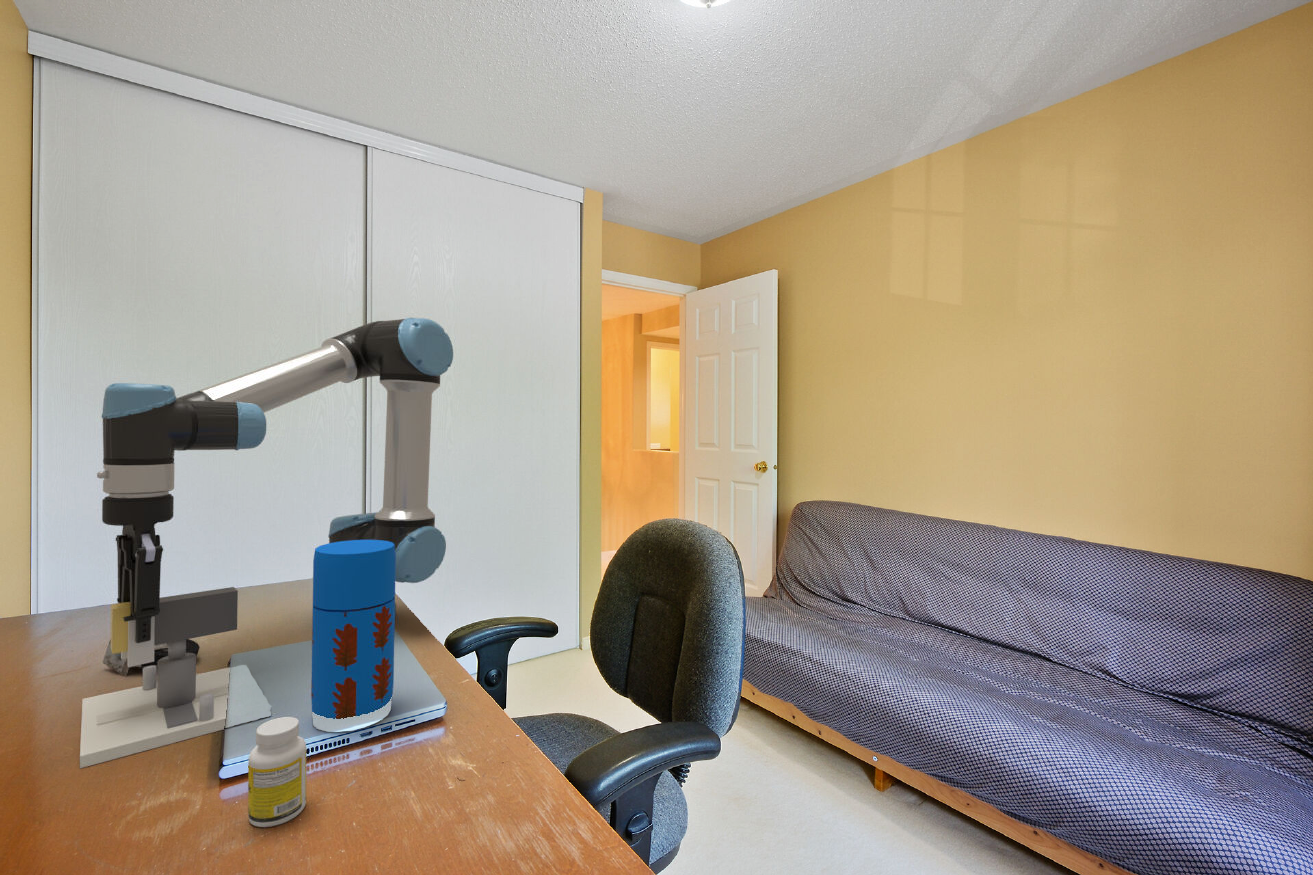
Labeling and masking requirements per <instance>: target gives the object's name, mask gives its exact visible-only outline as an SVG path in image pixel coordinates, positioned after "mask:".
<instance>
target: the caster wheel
mask: <svg viewBox="0 0 1313 875" xmlns="http://www.w3.org/2000/svg"><path fill="white" fill-rule="evenodd" d="M106 647H107V649H106V650H105V654H104V656H103V659H102V664H104V665H105V666H107V667H108V668H110V669H111V670H113V671H115V672H116V673H118V674H119V675H121V676H122V677H127V675H128V672H129V670H130V667H128V666H127V662H128V658H127V659H123V660H122V659H121V652H120V653H115V654H112V651H111V637H110V639H109V642H108V645H107V646H106ZM200 648H201V647H200V645H199V643H198V642H196V641H195V640H192V639H186V653H194V654H196V659H197V657H198V656H199V652H200ZM166 656H168V643H165V644H160V645H154V662H150V663H145V664H141V665H137V666H136V667H138V668H144V667H147V666H152V665H155V666H157V662H158V660H160V659H161V658H164V657H166ZM156 670H157V667H156Z"/></svg>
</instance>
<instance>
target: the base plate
mask: <svg viewBox="0 0 1313 875" xmlns="http://www.w3.org/2000/svg"><path fill="white" fill-rule="evenodd" d="M156 667H157V669H156ZM229 673H230V667H224V668H220V669H216V670H211V671H207V672H202V673H197V658H196V654H194V653H186V655H185V656H183V657H180V658H173V659H171V658H168V656H166V657H164V658H161V659H160V660H158V662H157V666H155V665H152V666H147V667H142V685H141V686H137V687H131V688H127V689H123V690H122V689H121V690H118V691H113V692H108V693H104V694H99V695H94V696H90V697H85V698H82V706H81V724H80V725H81V726H80V746H79V748H80V751H79V769H83V768H86V767H90V766H95V765H98V764H102V763H105V762H109V761H113V760H117V759H120V758H124V757H127V756H130V755H134V754H138V753H142V752H145V751H149V750H152V749H156V748H160V747H163V746H168V745H171V744H175V743H178V742H182V741H186V740H190V739H193V738H197V737H200V736H205V735H208V734H211V733H215V732H218V731H222V730H225V729H224V726H225V719H226V710H227V698H228V686H229V685H228V684H229Z"/></svg>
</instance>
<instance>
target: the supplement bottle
mask: <svg viewBox="0 0 1313 875" xmlns="http://www.w3.org/2000/svg"><path fill="white" fill-rule="evenodd" d="M255 731H256V732H255V743H256V746H254V748H253V749H252V750H251V751H250V753H249V755H248V765H247V767H248V770H247V773H248V774H247V776H248V785H247V788H248V789H247V791H248V796H247V797H248V802H247V803H248V808H247V809H248V810H247V812H248V820H249V823H250V824H251V825H253V826H255V827H259V828H269V827H276V826H279V825H282V824H285V823H286V822H289V821H291V820H293V819H294V818H295V817H297V816H299V815H300V813H301V812H302V811H303V810H304V808H305V806H306V804H307V743H306V741H305V739H304V738H303V737H301V736H299V734H300V721H299V719H298V718H297V717H293V716H282V717H278V718H273V719H271V720H268V721H266V722H262V723H261V724H260V725H259V726H258V727H257V728H256V730H255Z"/></svg>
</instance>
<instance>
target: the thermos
mask: <svg viewBox="0 0 1313 875" xmlns="http://www.w3.org/2000/svg"><path fill="white" fill-rule="evenodd" d="M312 563H313V565H312V567H313V568H312V570H313V571H312V619H311V620H312V621H311V622H312V624H311V628H312V629H311V631H312V632H311V682H310V683H311V684H310V685H311V687H310V689H311V692H310V694H311V695H310V696H311V713H312V712H314V713H315V714H317V715H320V716H324V717H326V718H333V719H335V718H336V719H341V718H343V719H344V718H347V717H353V716H360V715H362V714H368V713H370V712H374V711H375V710H378V709H380V708H382V707H383V706H385V705H386V704H387V703H388V702H389V701H390V699H391V697H392V695H393V694H394V678H395V676H394V675H395V674H394V673H395V669H394V668H395V667H394V666H395V622H396V621H395V618H396V617H395V603H396V597H395V596H396V581H395V574H396V554H395V545H394V544H393V543H392V542H389V541H382V540H350V541H340V542H334V543H329V542H328V543H324V544H321V545H319V546H316V548H314V555H313V562H312ZM392 698H393V697H392Z"/></svg>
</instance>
